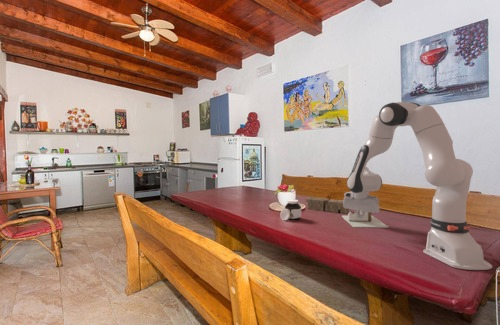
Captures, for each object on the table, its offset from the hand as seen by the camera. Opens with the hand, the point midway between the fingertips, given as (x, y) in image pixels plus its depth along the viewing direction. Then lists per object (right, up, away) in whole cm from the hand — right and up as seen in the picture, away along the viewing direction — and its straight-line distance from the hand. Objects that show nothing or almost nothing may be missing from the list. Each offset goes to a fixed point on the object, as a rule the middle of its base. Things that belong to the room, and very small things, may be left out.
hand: (360, 218), depth 153 cm
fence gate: (0, -2, +4) cm, 4 cm away
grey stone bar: (-9, -2, +34) cm, 35 cm away
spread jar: (-39, -4, +12) cm, 41 cm away
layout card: (+3, -3, +4) cm, 6 cm away
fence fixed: (+7, -3, +9) cm, 12 cm away
